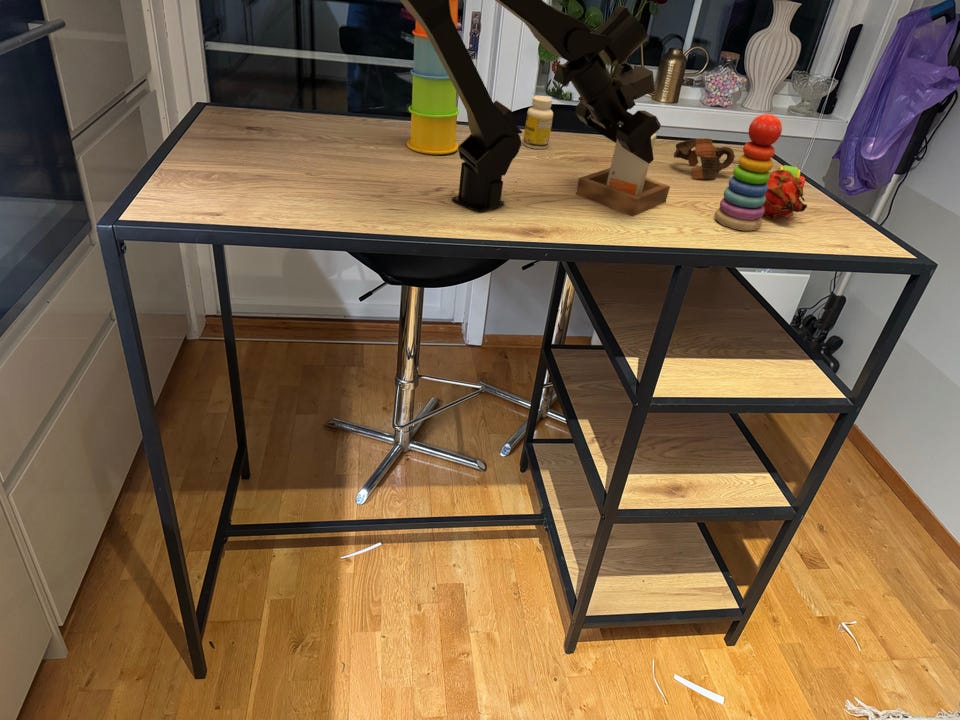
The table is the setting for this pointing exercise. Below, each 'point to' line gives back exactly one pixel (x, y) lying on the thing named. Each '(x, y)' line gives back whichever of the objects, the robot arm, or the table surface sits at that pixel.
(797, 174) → the toy measuring tape
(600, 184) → the square wooden frame
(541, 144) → the supplement bottle
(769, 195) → the dragon fruit
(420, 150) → the stacking cups
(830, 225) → the table surface
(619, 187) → the skincare box
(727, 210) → the stacking toy
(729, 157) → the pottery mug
